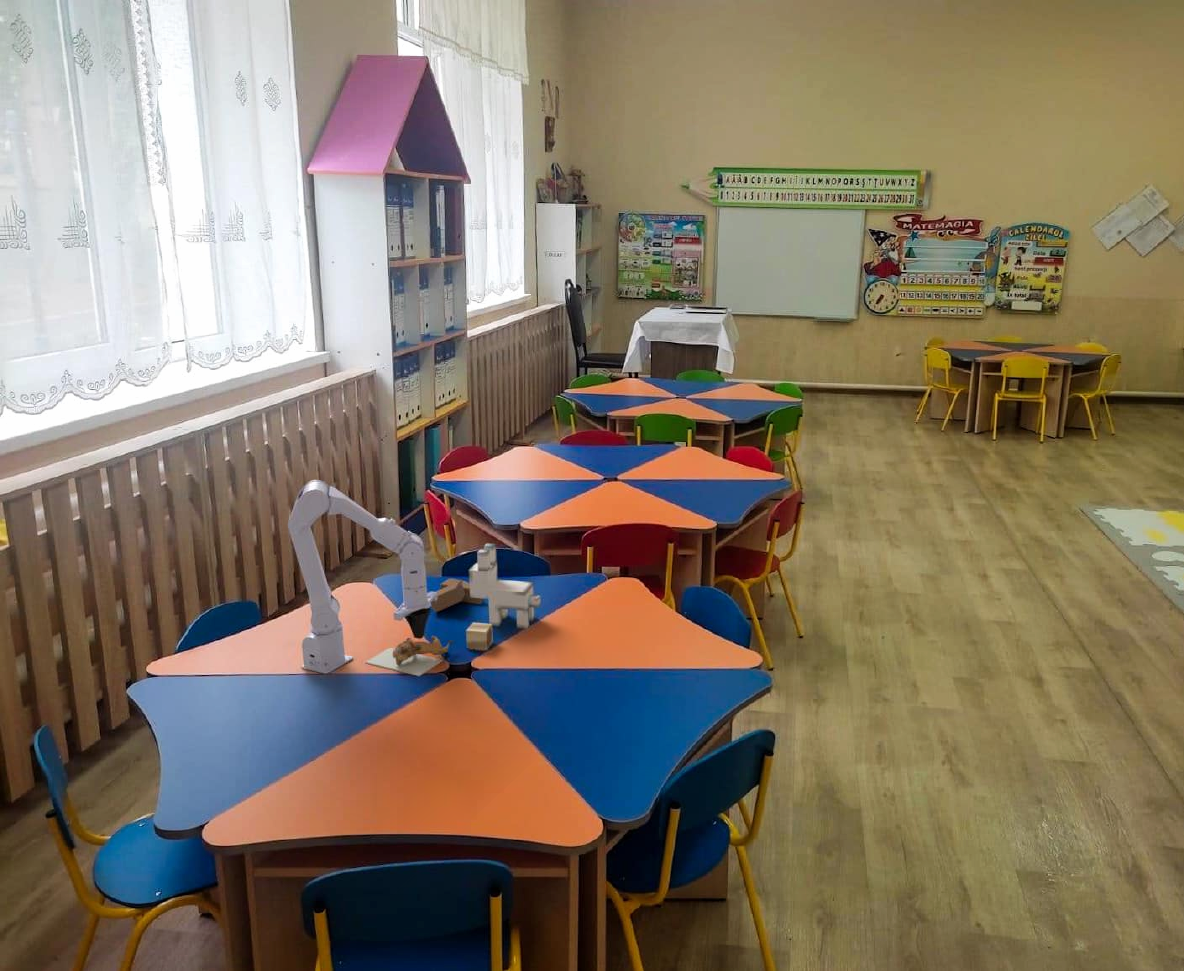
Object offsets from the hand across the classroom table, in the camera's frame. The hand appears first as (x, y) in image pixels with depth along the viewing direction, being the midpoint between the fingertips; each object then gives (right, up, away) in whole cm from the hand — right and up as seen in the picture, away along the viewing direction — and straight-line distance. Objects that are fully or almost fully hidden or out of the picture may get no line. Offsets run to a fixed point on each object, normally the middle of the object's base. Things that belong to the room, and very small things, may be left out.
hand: (418, 637), depth 236 cm
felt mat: (-3, -5, -4) cm, 7 cm away
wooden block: (+6, +4, +32) cm, 33 cm away
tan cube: (+14, -3, +5) cm, 15 cm away
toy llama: (+20, +1, +19) cm, 28 cm away
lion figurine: (+1, -2, +1) cm, 3 cm away
